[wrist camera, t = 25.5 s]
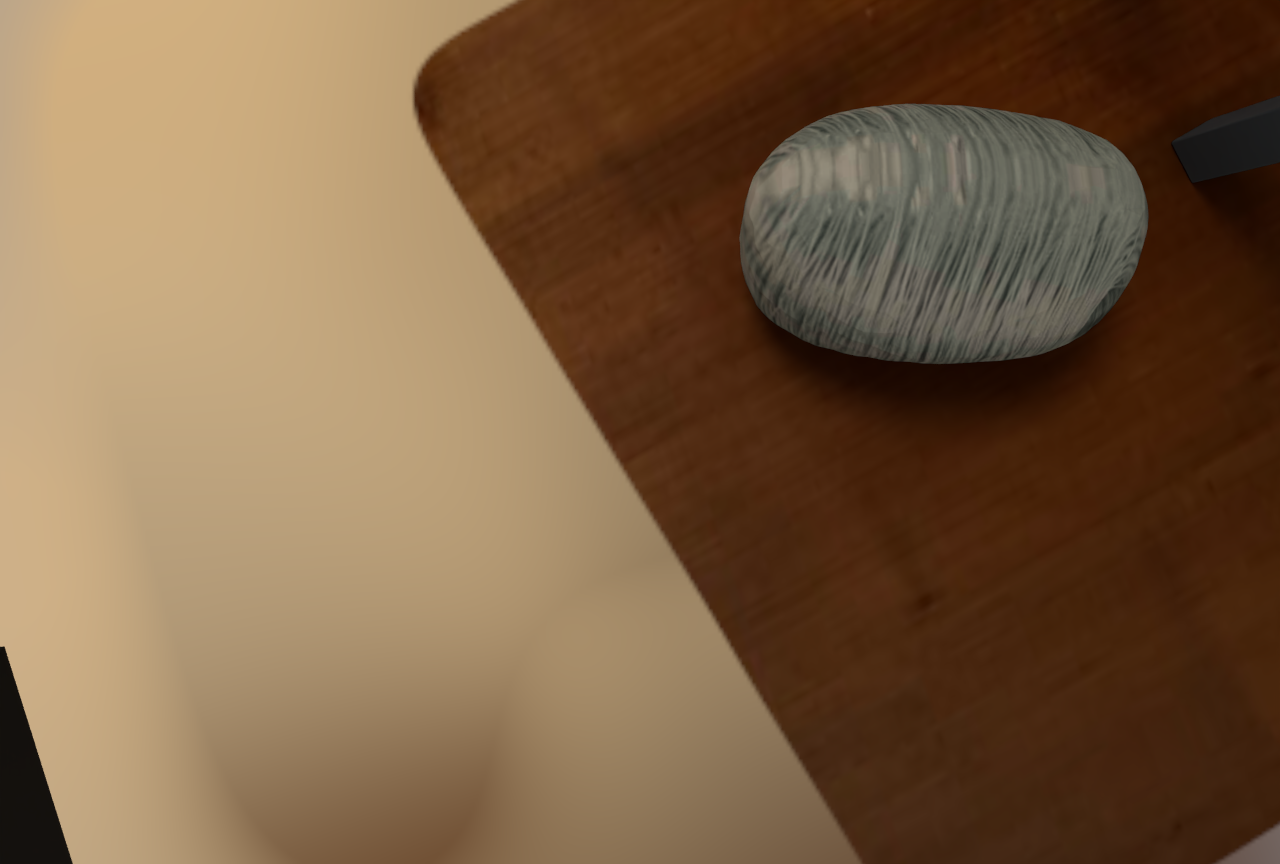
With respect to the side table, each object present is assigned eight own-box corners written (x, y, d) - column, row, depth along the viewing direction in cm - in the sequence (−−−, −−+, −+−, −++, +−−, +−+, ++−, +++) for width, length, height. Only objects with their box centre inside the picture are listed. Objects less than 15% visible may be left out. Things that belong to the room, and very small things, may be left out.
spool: (1108, 181, 44) (1149, 2, 35) (1138, 405, 41) (1192, 271, 32) (761, 216, 48) (718, 61, 39) (762, 427, 44) (715, 311, 35)
